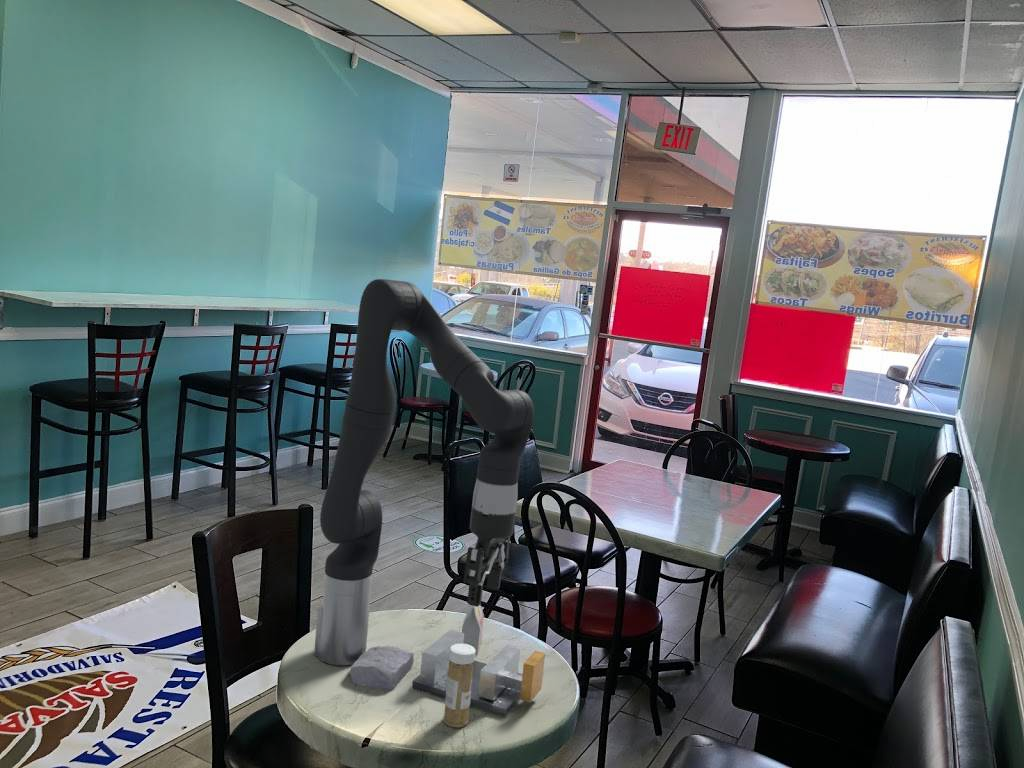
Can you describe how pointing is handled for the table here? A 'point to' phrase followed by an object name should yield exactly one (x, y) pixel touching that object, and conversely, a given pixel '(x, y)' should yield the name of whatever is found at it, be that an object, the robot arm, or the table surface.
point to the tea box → (473, 627)
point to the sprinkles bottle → (459, 685)
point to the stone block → (382, 667)
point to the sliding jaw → (512, 674)
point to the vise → (437, 672)
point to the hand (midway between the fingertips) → (483, 596)
